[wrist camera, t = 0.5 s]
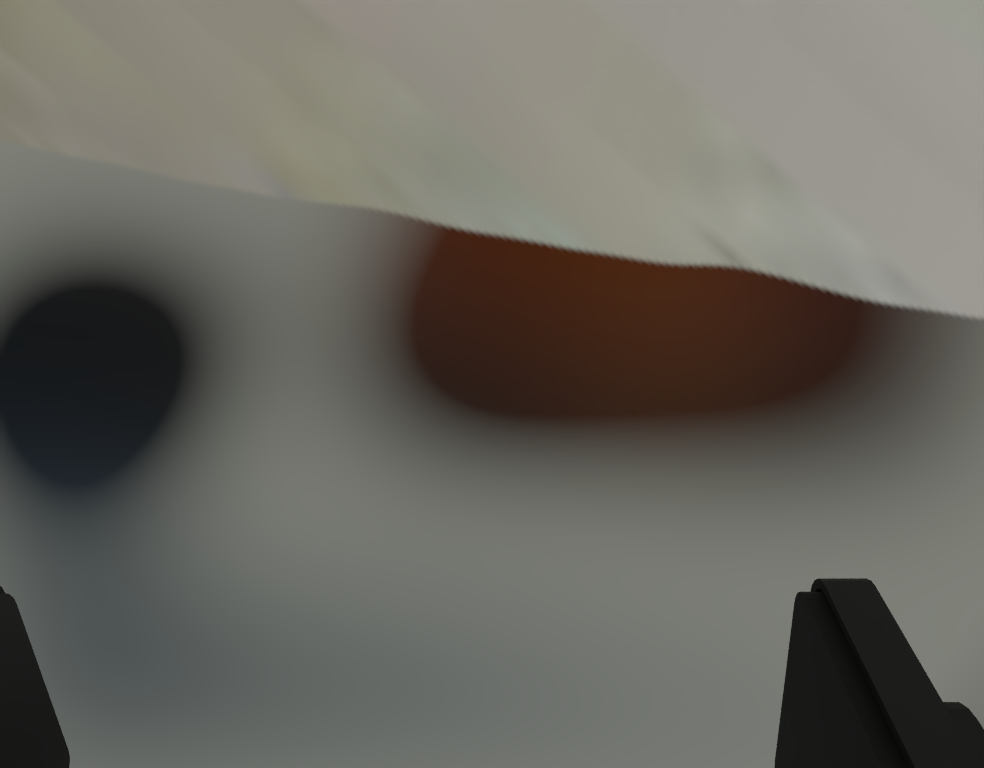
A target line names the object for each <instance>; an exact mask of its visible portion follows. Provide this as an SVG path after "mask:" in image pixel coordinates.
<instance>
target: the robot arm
mask: <svg viewBox="0 0 984 768" xmlns="http://www.w3.org/2000/svg"><path fill="white" fill-rule="evenodd" d="M69 763H70V756H69V751H68V748H67V745H66V742H65V739H64V736H63V734H62V731H61V728H60V725H59V722H58V720H57V717H56V714H55V711H54V708H53V706H52V703H51V700H50V697H49V694H48V691H47V688H46V686H45V683H44V680H43V678H42V674H41V672H40V669H39V666H38V663H37V660H36V657H35V655H34V652H33V649H32V646H31V643H30V641H29V638H28V635H27V632H26V629H25V626H24V624H23V621H22V618H21V615H20V612H19V609H18V607H17V604H16V602H15V600H14V598H13V597H12V596H11V595H9V594H6V593H5V592H4V590H3V589H2V587H1V586H0V768H69ZM775 768H984V729H983V728H982V726H981V724H980V723H979V721H978V720H977V719H976V717H975V716H974V715H973V714H972V712H971V711H970V710H969V709H968V708H967V707H965V706H964V705H963V704H961V703H959V702H943V701H942V700H941V698H940V696H939V695H938V693H937V691H936V690H935V688H934V686H933V684H932V683H931V681H930V679H929V678H928V676H927V674H926V672H925V671H924V669H923V667H922V665H921V664H920V662H919V660H918V659H917V657H916V655H915V653H914V652H913V650H912V648H911V647H910V645H909V643H908V641H907V640H906V638H905V636H904V635H903V633H902V631H901V629H900V628H899V626H898V624H897V623H896V621H895V619H894V618H893V616H892V614H891V612H890V611H889V609H888V607H887V605H886V604H885V602H884V600H883V598H882V597H881V595H880V593H879V592H878V590H877V588H876V587H875V585H874V584H873V583H872V581H870V580H868V579H816V580H815V581H814V583H813V584H812V588H811V592H799V593H797V595H796V598H795V603H794V611H793V619H792V628H791V636H790V643H789V651H788V660H787V668H786V677H785V684H784V693H783V700H782V708H781V716H780V724H779V733H778V741H777V749H776V757H775Z"/></svg>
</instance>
